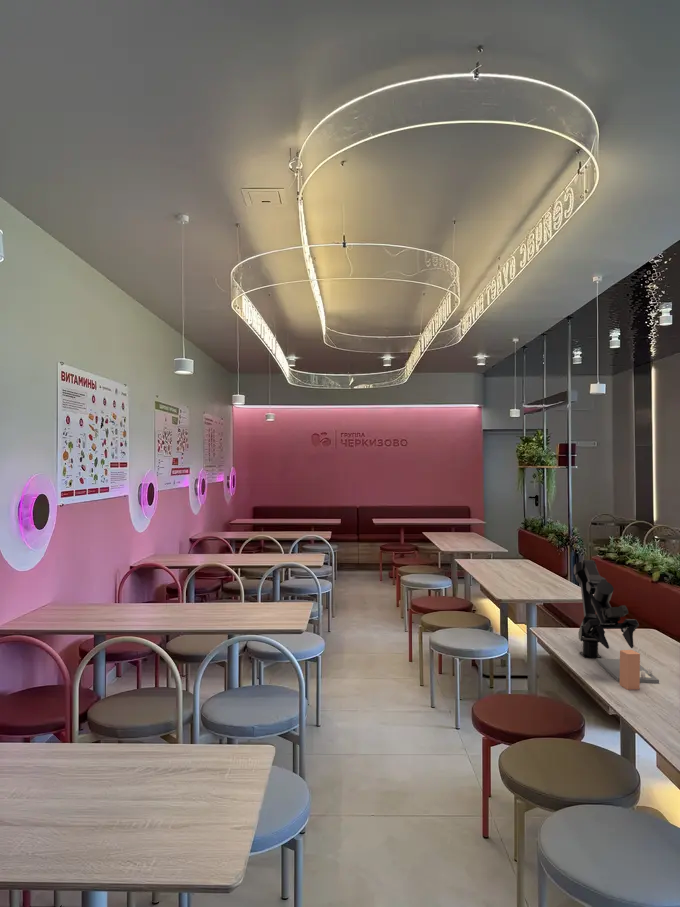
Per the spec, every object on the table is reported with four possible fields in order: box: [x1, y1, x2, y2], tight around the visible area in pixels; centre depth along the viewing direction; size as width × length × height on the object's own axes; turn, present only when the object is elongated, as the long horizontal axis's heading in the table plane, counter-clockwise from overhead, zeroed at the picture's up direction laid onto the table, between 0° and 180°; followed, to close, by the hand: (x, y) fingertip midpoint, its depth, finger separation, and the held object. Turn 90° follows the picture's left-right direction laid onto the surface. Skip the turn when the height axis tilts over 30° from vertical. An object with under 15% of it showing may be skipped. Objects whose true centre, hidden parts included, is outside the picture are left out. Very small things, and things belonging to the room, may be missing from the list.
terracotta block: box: [619, 649, 641, 691], centre depth 208 cm, size 4×4×12 cm
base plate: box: [595, 657, 660, 684], centre depth 224 cm, size 22×14×4 cm, turn 176°
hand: (620, 647), depth 214 cm, fingers open, 9 cm apart
